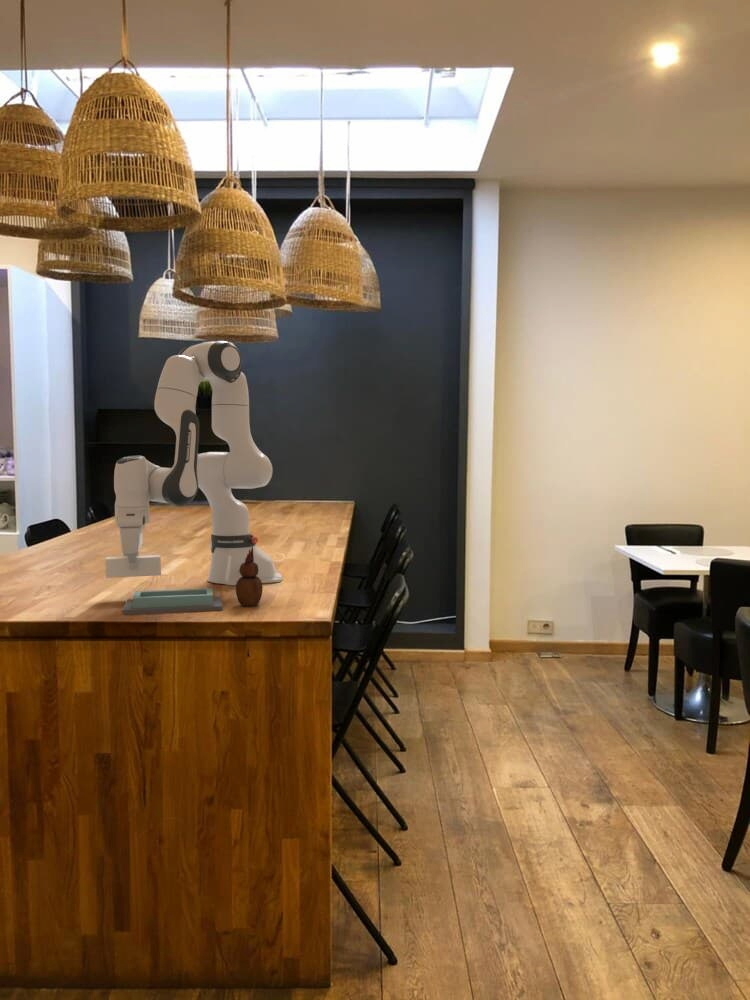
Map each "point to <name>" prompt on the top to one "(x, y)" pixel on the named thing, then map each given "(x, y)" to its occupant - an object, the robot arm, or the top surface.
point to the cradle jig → (172, 601)
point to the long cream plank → (145, 567)
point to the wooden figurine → (249, 582)
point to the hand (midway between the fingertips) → (133, 567)
